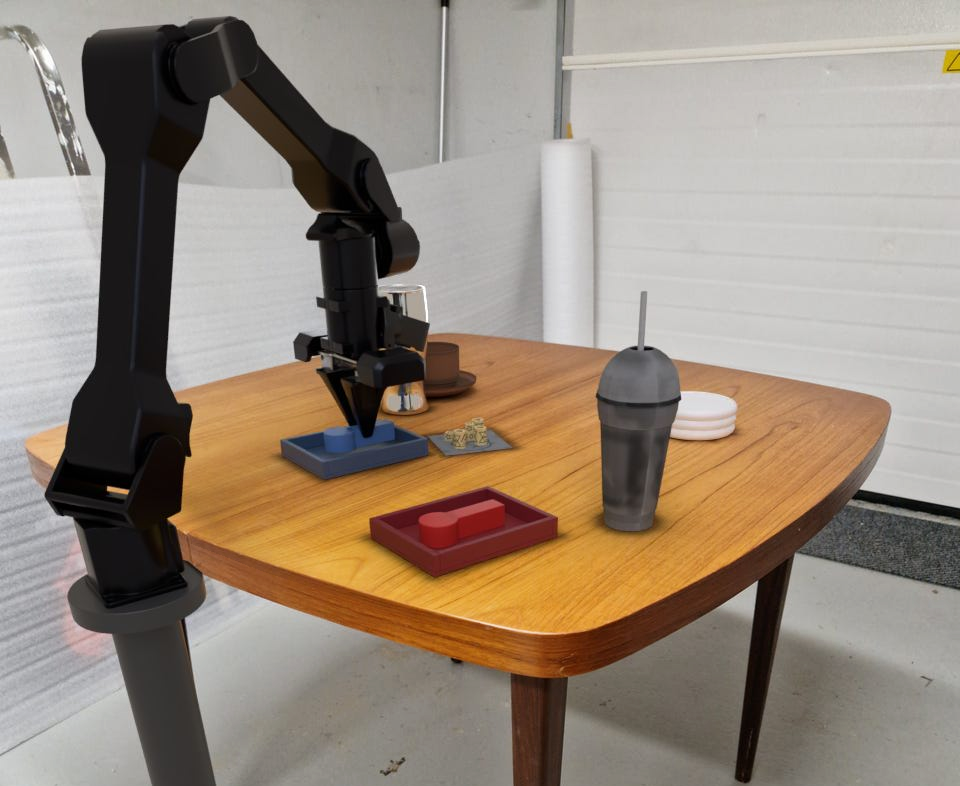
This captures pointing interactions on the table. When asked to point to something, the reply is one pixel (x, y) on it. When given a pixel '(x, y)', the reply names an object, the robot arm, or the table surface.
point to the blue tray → (352, 453)
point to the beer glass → (415, 306)
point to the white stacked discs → (704, 416)
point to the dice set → (469, 439)
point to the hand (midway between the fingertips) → (362, 435)
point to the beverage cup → (635, 430)
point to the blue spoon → (356, 437)
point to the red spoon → (460, 523)
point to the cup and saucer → (445, 371)
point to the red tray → (517, 533)
